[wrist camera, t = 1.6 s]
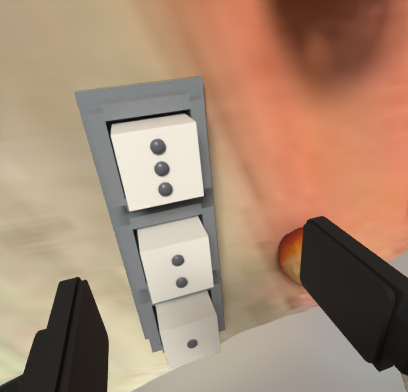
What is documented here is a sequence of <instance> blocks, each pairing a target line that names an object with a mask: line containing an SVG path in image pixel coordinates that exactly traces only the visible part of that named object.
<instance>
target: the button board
mask: <svg viewBox="0 0 408 392" xmlns="http://www.w3.org/2000/svg"><path fill="white" fill-rule="evenodd" d="M74 93H75V97H76V100H77V104H78V107H79V111H80V114H81V118H82V121H83V125H84V128H85V132H86V135H87V138H88V142H89V145H90V149H91V152H92V156H93V159H94V163H95V166H96V170H97V173H98V177H99V180H100V184H101V187H102V190H103V194H104V197H105V201H106V204H107V208H108V211H109V215H110V218H111V222H112V225H113V229H114V232H115V236H116V239H117V242H118V246H119V249H120V253H121V256H122V260H123V263H124V267H125V270H126V274H127V277H128V281H129V284H130V288H131V291H132V294H133V298H134V301H135V305H136V308H137V312H138V315H139V319H140V322H141V326H142V329H143V333H144V336H145V339H149V341H150V344H151V348H152V351H153V352H156V351H159V350H163V353H164V352H165V351H164V347H163V343H162V339H161V335H160V331H159V324H158V317H157V311H156V305H157V304H161V303H164V302H168V301H171V300H175V299H178V298H182V297H185V296H189V295H193V294H196V293H200V292H203V291H208V294H209V297H210V299H211V302H212V304H213V307H214V309H215V312H216V314H217V321H218V331H219V332H220V331H223V330H225V324H224V311H223V300H222V289H221V278H220V267H219V256H218V245H217V234H216V223H215V212H214V201H213V190H212V180H211V169H210V158H209V147H208V136H207V125H206V114H205V103H204V92H203V81H202V77H200V76H197V77H189V78H181V79H173V80H164V81H156V82H148V83H140V84H132V85H123V86H115V87H107V88H99V89H91V90H83V91H76V92H74ZM184 113H185V114H186V115H188V116H189V117H190V118H192V119H193V120H194V121H196V126H197V136H198V145H199V154H200V164H201V173H202V182H203V191H204V196H201V197H196V198H192V199H187V200H182V201H177V202H173V203H168V204H163V205H158V206H154V207H149V208H144V209H139V210H135V211H129V207H128V203H127V199H126V195H125V191H124V187H123V183H122V179H121V175H120V171H119V167H118V163H117V159H116V155H115V151H114V147H113V143H112V139H111V127H112V124H116V123H123V122H130V121H136V120H143V119H150V118H157V117H163V116H170V115H177V114H184ZM195 215H198V217H199V219H200V221H201V223H202V225H203V227H204V229H205V231H206V233H207V235H208V238H209V247H210V256H211V266H212V275H213V284H214V287H212V288H208V289H204V290H201V291H197V292H194V293H190V294H187V295H183V296H179V297H176V298H172V299H169V300H165V301H162V302H158V303H154V304H153V303H152V299H151V295H150V291H149V287H148V283H147V279H146V275H145V271H144V267H143V263H142V259H141V255H140V249H139V240H138V231H137V228H142V227H146V226H151V225H155V224H160V223H164V222H169V221H173V220H177V219H182V218H186V217H191V216H195Z"/></svg>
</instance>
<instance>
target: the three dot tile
mask: <svg viewBox="0 0 408 392" xmlns="http://www.w3.org/2000/svg"><path fill="white" fill-rule="evenodd" d="M111 139H112V143H113V147H114V151H115V155H116V159H117V163H118V167H119V171H120V175H121V179H122V183H123V187H124V191H125V195H126V199H127V203H128V207H129V211H135V210H139V209H144V208H149V207H154V206H158V205H163V204H168V203H173V202H177V201H182V200H187V199H192V198H196V197H201V196H204V191H203V182H202V173H201V164H200V154H199V145H198V136H197V126H196V121H194V120H193V119H192V118H190V117H189V116H188V115H186V114H185V113H184V114H177V115H170V116H163V117H157V118H150V119H143V120H136V121H130V122H123V123H116V124H112V127H111Z"/></svg>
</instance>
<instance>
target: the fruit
mask: <svg viewBox="0 0 408 392" xmlns="http://www.w3.org/2000/svg"><path fill="white" fill-rule="evenodd" d="M302 237H303V227H301V228H298V229H296V230H295V231H293V232H291V233H289V234H287V235H285V236H284V238H283V239H282V241H281V244H280V249H279V263H280V267H281V269H282V270H283V272H284V274H285V275H286V276H288V277H289V278H290V279H291V280H292V281H294V282H295V283H297V284H298V285H300V286H303V285H302V284H301V281H300V264H301V251H302Z"/></svg>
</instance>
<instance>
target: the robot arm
mask: <svg viewBox="0 0 408 392" xmlns="http://www.w3.org/2000/svg"><path fill="white" fill-rule="evenodd" d="M300 281H301V284H302V285H303V287H304V288H305V289H306V290H307V292H308V293H309V294H310V295H311V296H312V298H313V299H314V300H315V301H316V302H317V304H318V305H319V306H320V307H321V308H322V309H323V311H324V312H325V313H326V314H327V316H328V317H329V318H330V319H331V320H332V321H333V323H334V324H335V325H336V326H337V328H339V330H340V331H341V332H342V334H343V335H344V336H345V337H346V338H347V340H348V341H349V342H350V343H351V344H352V345H353V347H354V348H355V349H356V350H357V351H358V353H359V354H360V355H361V356H362V357H363V359H364V360H365V361H367V362H368V363H372V364H373V365H374V366H375V368H376V369H377V370H378V371H379V372H380V371H382V370H385V369H388V368H390V367H392V366H393V365H394V366H395V367H396V368H397V369H398V370H399V371H400V372H401V375H402V378H403V382H404V385H405V388H406V391H407V392H408V278H407V277H406V276H404V275H403V274H402V273H400V272H399V271H398V270H396V269H395V268H394V267H392V266H391V265H389V264H388V263H387V262H385V261H384V260H383V259H381V258H380V257H379V256H377V255H376V254H375V253H373V252H372V251H370V250H369V249H368V248H366V247H365V246H364V245H362V244H361V243H360V242H358V241H357V240H356V239H354V238H353V237H351V236H350V235H349V234H347V233H346V232H345V231H343V230H342V229H341V228H339V227H338V226H337V225H335V224H334V223H332V222H331V221H330V220H328V219H327V218H326V217H324V216H320V217H316V218H312V219H309V220H307V222H306V224H305V225H304V227H303V237H302V251H301V264H300ZM108 352H109V341H108V335H107V332H106V329H105V326H104V324H103V321H102V318H101V316H100V313H99V311H98V308H97V305H96V303H95V300H94V297H93V295H92V292H91V289H90V287H89V284H88V282H87V280H83V281H81V279H80V278H79V277H76V278H72V279H68V280H64V281H61V282H59V285H58V288H57V292H56V296H55V299H54V303H53V307H52V310H51V314H50V318H49V321H48V325H47V329H44V330H40V331H38V332H37V333H36V335H35V338H34V340H33V344H32V347H31V350H30V353H29V357H28V360H27V363H26V366H25V370H24V373H23V376H22V379H21V383H20V386H19V389H18V392H107V381H108Z"/></svg>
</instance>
